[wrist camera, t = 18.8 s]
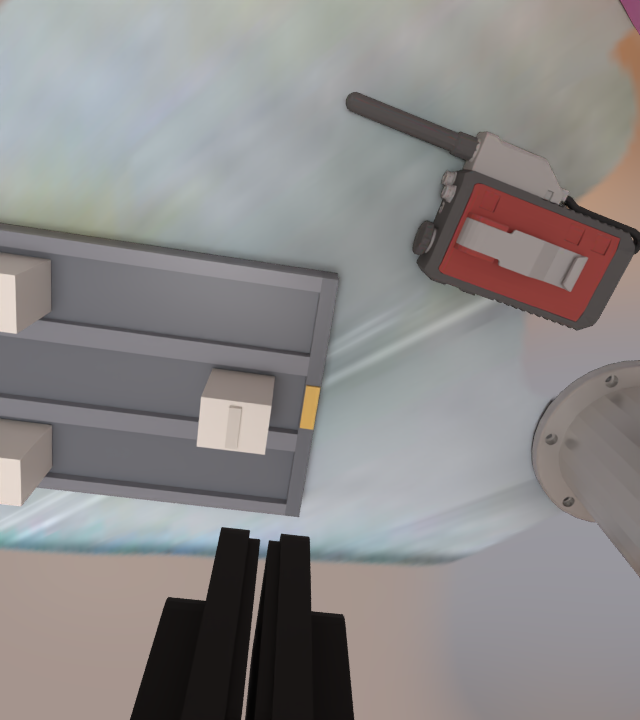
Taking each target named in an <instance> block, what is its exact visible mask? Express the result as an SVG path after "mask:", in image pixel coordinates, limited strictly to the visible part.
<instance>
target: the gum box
mask: <svg viewBox="0 0 640 720" xmlns="http://www.w3.org/2000/svg"><path fill="white" fill-rule="evenodd" d="M620 1H621V3H622V4H623V6H624V8H625V10H626V12H627V14H628V16H629V18H630V20H631V21H632V23H633V25H634V26H635V28H636V30H637V31H638V33H639V35H640V0H620Z"/></svg>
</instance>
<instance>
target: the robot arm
mask: <svg viewBox="0 0 640 720" xmlns="http://www.w3.org/2000/svg"><path fill="white" fill-rule="evenodd" d="M532 460H533V467H534V471H535V474H536V478H537V480H538V481H539V483H540V485H541V487H542V489H543V490H544V491H545V493H546V494H547V495H548V497H549V498H550V499H551V501H552V502H553V503H554V504H555V505H557V506H558V507H559V508H560V509H561V510H563V511H564V512H566V513H568V514H570V515H572V516H574V517H576V518H579V519H582V520H586V521H589V522H596V523H597V524H598V525H599V526H600V528H601V529H602V530H603V531H604V533H605V534H606V535H607V536H608V538H609V539H610V540H611V542H612V543H613V544H614V545H615V547H616V548H617V549H618V550H619V552H620V553H621V554H622V556H623V557H624V558H625V559H626V561H627V562H628V563H629V564H630V565H631V567H632V568H633V569H634V571H635V572H636V573H637V574H638V576H639V577H640V360H638V361H623V362H618V363H613V364H609V365H606V366H603V367H601V368H598V369H596V370H593V371H591V372H589V373H587V374H585V375H584V376H582V377H580V378H579V379H577V380H575V381H574V382H573V383H571V384H570V385H569V386H568V387H567V388H565V389H564V390H563V391H562V392H561V393H560V394H559V395H558V396H557V397H556V398H555V399H554V401H553V402H552V403H551V404H550V405H549V406H548V408H547V410H546V411H545V413H544V415H543V416H542V418H541V420H540V422H539V425H538V427H537V430H536V433H535V435H534V441H533V447H532ZM249 533H250V530H243V529H234V528H224V527H222V528H221V532H220V536H219V541H218V546H217V551H216V555H215V560H214V565H213V570H212V575H211V580H210V584H209V589H208V593H207V598H206V601H201V600H192V599H181V598H172V597H168V598H167V600H166V602H165V606H164V608H163V612H162V615H161V618H160V622H159V625H158V628H157V632H156V635H155V638H154V642H153V645H152V648H151V651H150V655H149V658H148V661H147V665H146V668H145V672H144V675H143V678H142V682H141V685H140V688H139V691H138V695H137V698H136V702H135V705H134V708H133V712H132V715H131V718H130V720H241V715H242V707H243V697H244V687H245V678H246V669H247V668H246V667H247V659H248V650H249V640H250V631H251V622H252V611H253V602H254V593H255V584H256V574H257V565H258V555H259V546H260V539H252V538H249ZM245 720H354V713H353V701H352V691H351V680H350V669H349V659H348V647H347V638H346V627H345V619H344V616H343V614H333V613H323V612H313V611H311V575H310V538H309V537H306V536H297V535H288V534H281V536H280V542H279V541H270V540H269V544H268V550H267V557H266V563H265V570H264V577H263V583H262V590H261V596H260V603H259V610H258V616H257V623H256V629H255V636H254V643H253V649H252V657H251V666H250V677H249V686H248V696H247V706H246V716H245Z"/></svg>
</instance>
